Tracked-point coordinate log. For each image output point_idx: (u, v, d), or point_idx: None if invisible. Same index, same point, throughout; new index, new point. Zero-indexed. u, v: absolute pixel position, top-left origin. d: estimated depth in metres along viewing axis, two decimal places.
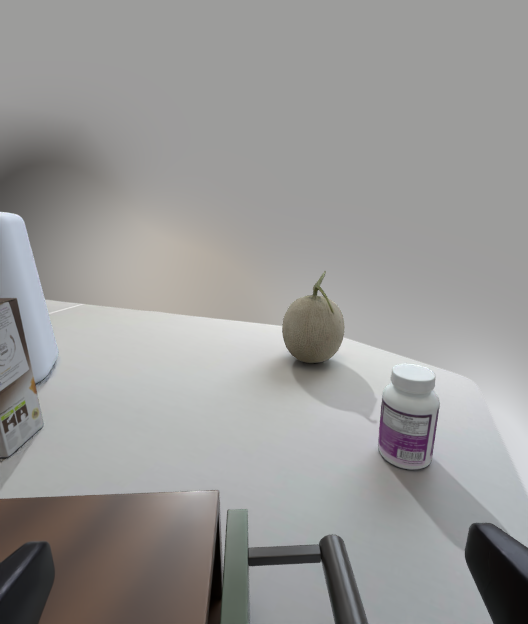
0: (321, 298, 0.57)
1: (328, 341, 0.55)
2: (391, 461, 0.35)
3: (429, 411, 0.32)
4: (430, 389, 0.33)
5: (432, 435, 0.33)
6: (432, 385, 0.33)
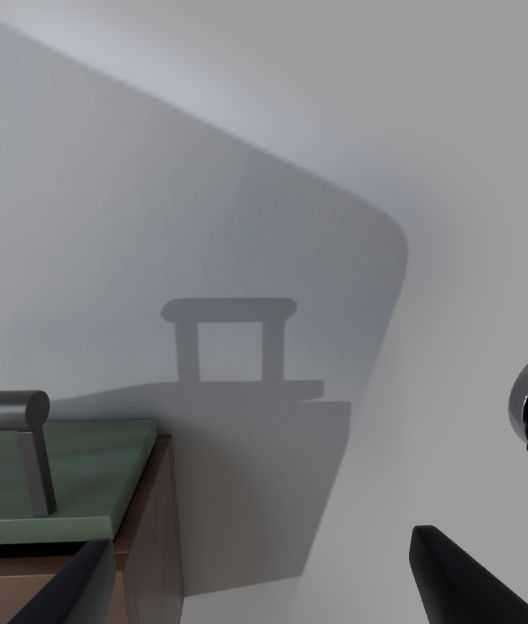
0: None
1: None
2: None
3: None
4: None
5: None
6: None
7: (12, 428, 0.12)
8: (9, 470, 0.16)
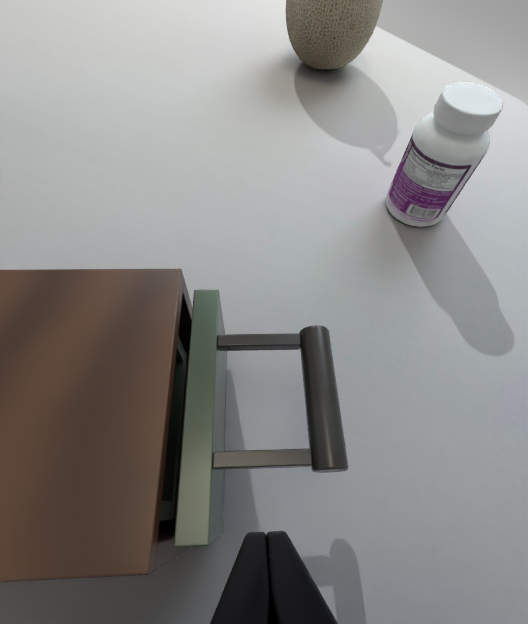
0: None
1: (353, 32, 0.36)
2: (397, 216, 0.30)
3: (470, 161, 0.24)
4: (486, 128, 0.23)
5: (459, 190, 0.27)
6: (492, 122, 0.23)
7: (322, 451, 0.13)
8: (220, 401, 0.17)
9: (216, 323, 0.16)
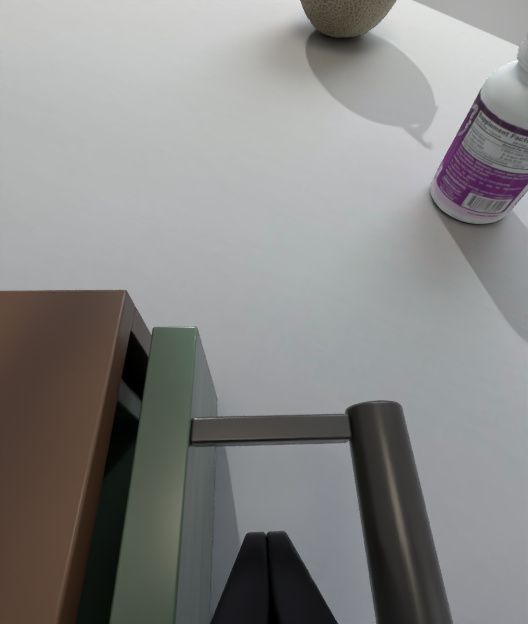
0: None
1: None
2: (448, 210, 0.22)
3: None
4: None
5: None
6: None
7: None
8: (199, 529, 0.09)
9: (190, 394, 0.08)
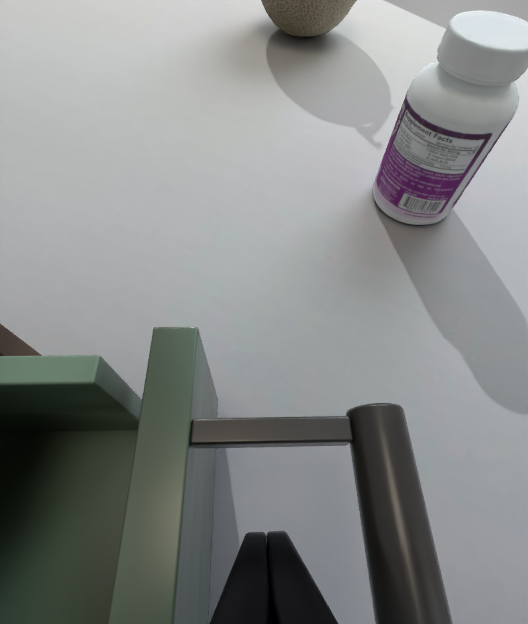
0: None
1: None
2: (387, 211, 0.22)
3: (490, 127, 0.16)
4: (516, 75, 0.15)
5: (472, 173, 0.19)
6: (525, 65, 0.15)
7: None
8: (198, 530, 0.09)
9: (190, 395, 0.08)
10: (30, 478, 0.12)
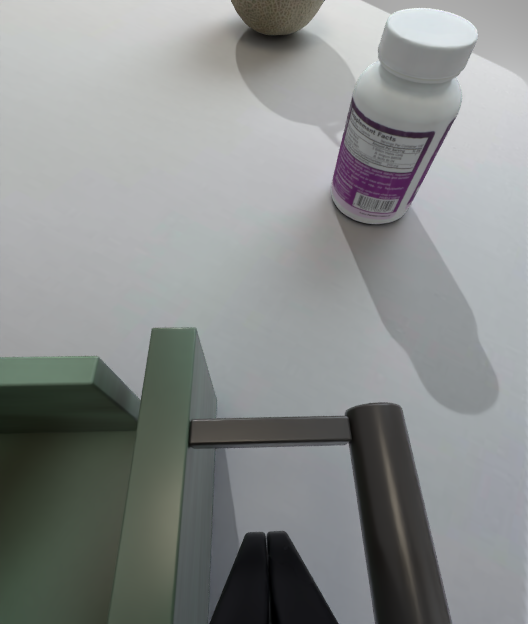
0: None
1: None
2: (343, 210, 0.22)
3: (432, 125, 0.16)
4: (453, 73, 0.15)
5: (422, 171, 0.19)
6: (461, 62, 0.15)
7: None
8: (197, 531, 0.09)
9: (189, 396, 0.08)
10: (29, 479, 0.12)
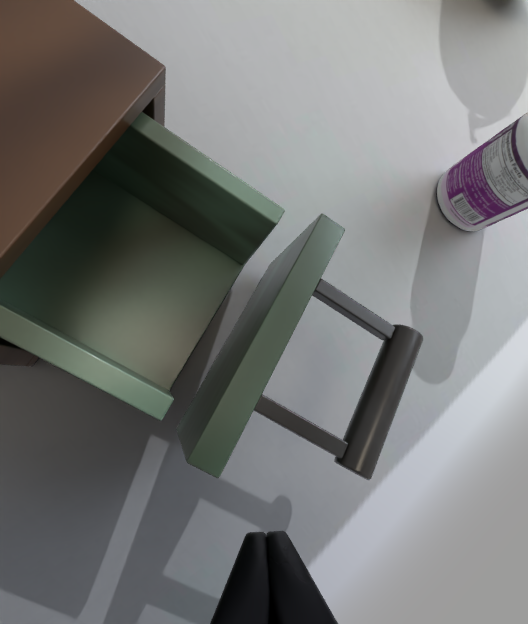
0: None
1: None
2: (440, 198, 0.26)
3: None
4: None
5: (516, 210, 0.23)
6: None
7: (359, 454, 0.12)
8: None
9: (326, 265, 0.13)
10: (161, 249, 0.17)
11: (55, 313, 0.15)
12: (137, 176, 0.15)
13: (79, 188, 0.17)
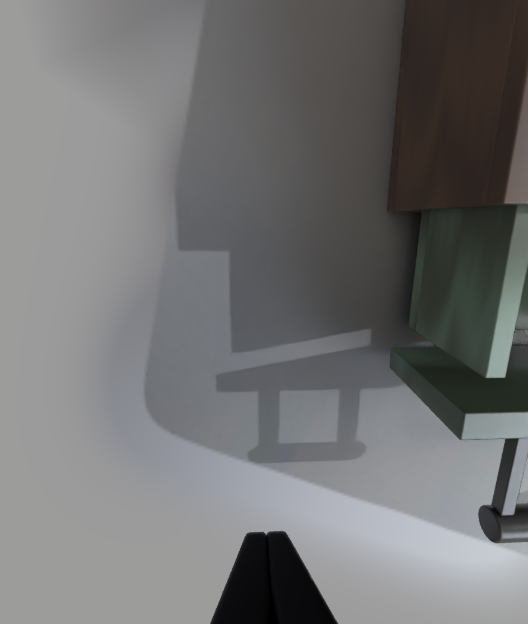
0: None
1: None
2: None
3: None
4: None
5: None
6: None
7: (514, 528, 0.14)
8: None
9: None
10: None
11: None
12: None
13: None
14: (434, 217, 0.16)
